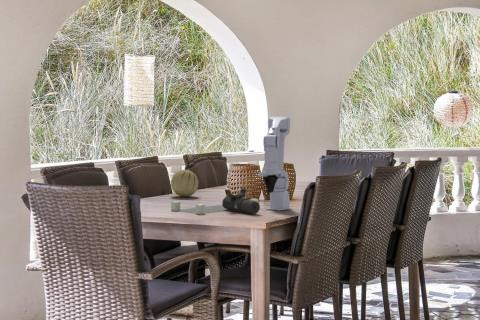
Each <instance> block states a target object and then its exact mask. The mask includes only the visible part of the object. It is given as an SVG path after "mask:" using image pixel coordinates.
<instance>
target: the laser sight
mask: <svg viewBox="0 0 480 320" xmlns="http://www.w3.org/2000/svg"><path fill="white" fill-rule="evenodd" d="M224 192H225V196H226V197H224V198H222V199H223V200H222V202H221V205H223V207H224V208H225V209H227V210H230V211H232V212H236V213H241V214H244V213H245V214H246V213H249V214H253V215H255V214H257V213H258V212H260V209H261V206H260V205H261V204H260V203H259V201H258V202H256V201H250V199H248V198H245V197H246V193H247V189H246V188H240V192H239V193H237V194H232V192H231V189H224Z"/></svg>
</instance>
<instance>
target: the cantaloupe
mask: <svg viewBox="0 0 480 320" xmlns="http://www.w3.org/2000/svg"><path fill="white" fill-rule="evenodd" d="M170 186H171V189H172V192H174V193H175V195H177V196H178V197H182V198H187V197H191V196H193V195H195V193H196V192H197V191H198V188H199V178H198V176H197V174H196V173H194V172H193V171H192V170H190V168H187V169H180V170H178V171H176V172H175V173H174V174H173V175H172V177H171V180H170Z"/></svg>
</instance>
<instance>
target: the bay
mask: <svg viewBox="0 0 480 320" xmlns="http://www.w3.org/2000/svg"><path fill="white" fill-rule="evenodd" d="M225 197H226V195H225ZM225 197H224V198H225ZM249 201H256V202H258V203H259V198H250V199H249ZM170 210H171V211H173V212H179V213H187V214H194V215H205V214H211V213H213V214H214V213H222V212H229V211H230V210H227V209H225V208H224V207H223V205H222V204H217V205H210V206H209V205H207V206H206V204H202V203H199V204H195V207H191V208H190V207H189V208H182V209H181V201H171V202H170Z"/></svg>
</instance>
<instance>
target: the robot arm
mask: <svg viewBox="0 0 480 320" xmlns="http://www.w3.org/2000/svg"><path fill="white" fill-rule="evenodd" d="M267 124H268V125H267V128H268V131H267V133H266V135H264V136H263V140H262V141H263V144H262V145H263V151H264V169H263V171H261V172H258V177H259V178H262V179H263V181H264V183H265V187H266V190H267V193H269V207H266V208H265V210H270V211H285V210H291V209H292V207H290V203H291V202H290V199H291V198H290V194H289V193H290V192H288V190H289V185H290V180H289V179H290V177H289V175H288V172H286V171H285V170H284V160H285V159H284V155H285V139H286V137H287V136H288V135H290V131H291V130H290V129H291V118H290V117H289V116H271V115H270V116H269V117H268V120H267Z"/></svg>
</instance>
